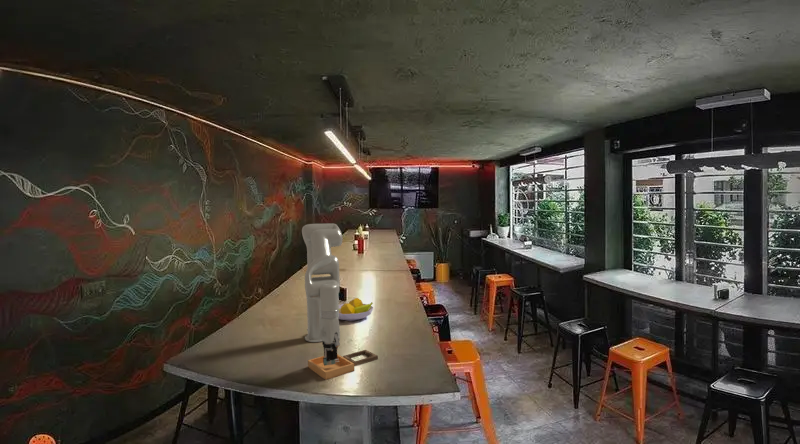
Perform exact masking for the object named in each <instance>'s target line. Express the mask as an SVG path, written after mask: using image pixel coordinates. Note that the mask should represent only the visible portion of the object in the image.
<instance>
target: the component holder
mask: <svg viewBox="0 0 800 444" xmlns="http://www.w3.org/2000/svg"><path fill="white" fill-rule="evenodd" d="M364 355H366V356H368V357H366V358H361V359H358V360H354V359H353V358H357V357H360V356H364ZM342 357H344V358H345V359H347V360H349V361H350V362H352V363H354V367H357V366H361V365H363V364H366V363H370V362H373V361H376V360H378V359H379V356H378V355H377V354H375V353H373V352H371V351H369V350H367V349H362V350H360V351H355V352H353V353H349V354H345V355H342Z"/></svg>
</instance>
